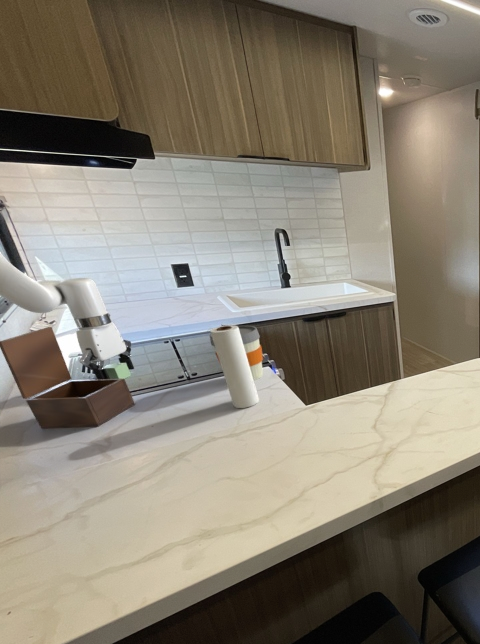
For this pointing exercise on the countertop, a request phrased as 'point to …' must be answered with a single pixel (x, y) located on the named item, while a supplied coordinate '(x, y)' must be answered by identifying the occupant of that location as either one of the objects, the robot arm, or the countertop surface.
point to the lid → (35, 361)
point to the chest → (81, 403)
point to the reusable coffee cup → (250, 349)
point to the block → (117, 370)
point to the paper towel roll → (235, 365)
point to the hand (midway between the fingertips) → (117, 374)
